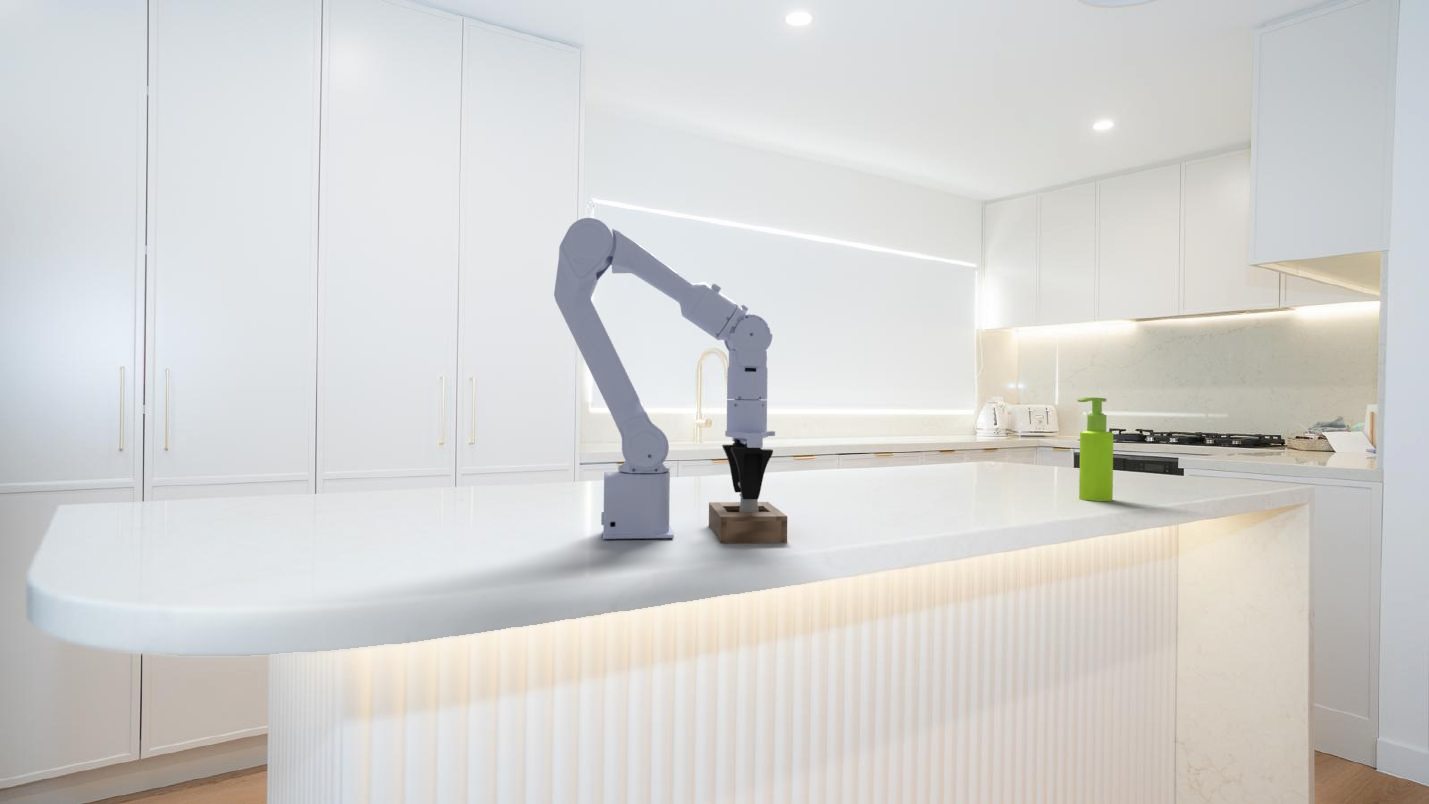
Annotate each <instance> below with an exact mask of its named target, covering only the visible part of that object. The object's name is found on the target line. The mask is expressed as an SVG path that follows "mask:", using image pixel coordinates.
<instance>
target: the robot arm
mask: <svg viewBox="0 0 1429 804" xmlns="http://www.w3.org/2000/svg"><path fill="white" fill-rule="evenodd" d="M558 249H559V251H558V263H557V267H556V268H557V270H556V278H555V282H554V283H555V285H554V292H553V293H554V294H553V296H554V299H555V303H556V305H557V307H558V309H559V310H560V313H561V315H562V317H563V319H564V321H565V323H566V325H567V328H568V329H569V331H570V333H571V336H572V337H573V339H574V341H575V343H576V345H577V346H578V349H579V352H580V353H581V355H582V358H583V359H584V362H585V363H586V365H587V367H588V370H589V371H590V374H591V376H592V378H593V379H594V382H595V384H596V386H597V388H598V389H599V392H600V394H601V396H602V399H603V400H604V401H605V405H606V407H607V408H608V411H609V413H610V415H611V416H612V419H613V421H614V423H615V425H616V428H617V430H618V432H619V434H620V437H621V452H622V455H623V458H624V462H623V463H622V464H620V465H618V471H606V472H604V475H603V479H604V480H603V511H602V512H601V516H600V517H601V519H600V521H601V526H603V532H602V533H603V537H602V538H603V539H604V540H608V539H609V540H613V539H614V540H617V539H618V540H620V539H621V540H622V539H623V540H624V539H625V540H626V539H627V540H628V539H673V538H674V536H675V534H674V532H673V529H672V527H671V525H670V500H671V499H670V492H671V491H670V484H671V482H670V478H671V477H670V476H671V472H670V471H671V470H670V469H671V468H670V467H669V466H667V465H665V464H664V462H665V461H666V459H667V456H668V454H669V450H670V449H669V448H670V447H669V446H670V445H669V441H668V438H667V435H665V432H663V431H662V429H661V428H659V427H658V426H657V425H656V424H654V423H653V422H652V420H651V419H650V417H649V416H648V413H647V411H646V409H645V407H644V406H643V403H642V401H641V399H640V397H639V395H638V393H637V391H636V390H635V386H634V385H633V383H632V381H631V379H630V377H629V374H628V373H627V371H626V369H625V367H624V364H623V362H622V360H621V358H620V357H619V354H618V353H617V352H618V351H616V348H615V346H614V344H613V342H612V340H611V337H610V336H609V334H608V332H607V330H606V328H605V326H604V323H603V321H602V320H601V317H600V315H599V314H598V311H597V310H596V307H595V305H594V304H593V301H592V296H593V294H594V292H595V289H596V286H597V284H598V281H599V280H600V278H602V276H603V275H604V274H605V273H606V272H607V270H609V268H610V266H611V273H612V274H632V275H634V276H636V277H637V278H640V279H641V280H642V281H644V282H645V283H647V284H648V285H650V286H652V287H653V288H655V289H657V290H658V291H660V292H661V293H663V294H664V295H666V296H667V297H669V298H670V299H672V300H674V301H676V302H678V304H679V307H680V311H681V316H682V317H684V318H685V319H686V320H688V321H689V322H691V323H693V324H694V325H695V326H696V327H698V328H699V329H701V330H702V331H704V332H705V333H707V334H708V335H710V336H711V337H713V338H714V339H716V340H717V341H722V340H723V341H724V343H723V344H724V346H725V348H726V349H727V351H728V366H727V368H726V369H727V372H726V374H727V375H726V380H727V381H726V430H725V435H724V436H725V438H732V439H731V441H732V442H733V443H732V444H722V445H721V446H722V449H723V451H724V453H725V455H726V459H727V462H728V464H729V470H730V473H731V474H730V475H731V480H732V481H731V482H732V486H733V491H734V492H735V493H742V497H743V499H758V500H759V497H760V494H761V490H762V484H763V480H764V474H765V472H766V468H767V466H768V463H769V461H770V460H771V457H772V456H773V453H774V450H773V449H772V448H770V449H769V448H767V449H764V447H763V444H764V443H763V442H764V441H763V439H765V438H768V437H775V436H776V431H774V430H768V427H767V426H768V367H767V364H768V363H767V361H768V356H767V349H769V347H770V346H771V343H772V340H773V334H772V333H771V330H770V327H769V326H768V325H769V324H768V322H767V321H766V320H764V318H762V317H761V316H759V315H757V314H747V311H749V307H748V306H746V305H745V304H742V305H738V304H737V303H736V302H734V301H733V300H732V299H730V298H729V297H727V296H726V295H724V294H722V292H721V290H722V288H721V286H719V285H718V284H716V283H712V285H710V284H708V283H707V282H698V283H691V282H689V281H688V280H687V279H685V278H684V277H682V275H680V274H679V273H678V272H676V271H675V270H673V269H672V268H671V267H670V266H668V265H667V264H665V263H664V262H663V261H661V260H660V259H659V258H658V257H656V256H655V255H653V254H652V253H651V252H649V251H648V250H647V249H645V248H644V247H642V246H641V245H640V244H639V243H637V242H635V241H634V240H632V239H631V238H630V237H628V236H627V235H625V234H624V233H622V232H621V231H619V230H617V229H614V228H612V231H611V230H610V228H609V227H608V225H606V223H605V222H603V221H602V220H599V219H597V218H594V217H584V218H579V219H578V220H576V221H575V222H573V223H572V224H571V225H570V226H569V228H568V229H567V231H566V233H565V234H564V237H563V239H562V240H561V242H560V245H559V248H558ZM762 448H763V449H762ZM739 482H740V487H739V485H738V483H739Z"/></svg>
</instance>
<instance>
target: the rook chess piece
mask: <svg viewBox="0 0 1429 804" xmlns="http://www.w3.org/2000/svg"><path fill="white" fill-rule="evenodd" d="M738 485H739V487H740V482H739V483H738ZM739 496H740V501H739V502H740V509H739V512H759V510H758V502H759V501H758V500H759V498H758V499H743V497H742V493H741V492H739Z"/></svg>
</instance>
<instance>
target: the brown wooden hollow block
mask: <svg viewBox="0 0 1429 804" xmlns="http://www.w3.org/2000/svg"><path fill="white" fill-rule="evenodd" d="M740 502H741V501H729V502H728V501H726V502H725V501H724V502H723V501H721V502H717V501H716V502H715V501H711V502H708V527H709V528H710V530H711V531H712V533H713V534H714V536H715V537H716V538H717V540H718V542H719V543H720V544H747V543H749V544H759V543H760V544H761V543H762V544H763V543H765V544H767V543H770V544H771V543H772V544H773V543H788V516H787V515H786V514H785V513H784V512H782V511H781V510H780V509H778V508H777V507H776V506H775V505H773V504H772V503H770V502H769V501H758V510H759V512H739V509H740Z"/></svg>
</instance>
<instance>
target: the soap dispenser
mask: <svg viewBox="0 0 1429 804" xmlns="http://www.w3.org/2000/svg"><path fill="white" fill-rule="evenodd" d="M1077 402H1079V403H1087V402H1091V404H1092V405H1091V412H1090V413H1089V414H1087V416H1086V417H1087V419H1086V420H1087V421H1086V422H1087V423H1086V430H1084V431H1081V432H1080V433H1079V474H1078V475H1079V477H1078V478H1079V484H1078V485H1079V486H1078V489H1079V491H1078V492H1079V493H1078V499H1080V500H1084V501H1091V502H1092V501H1093V502H1111V501H1113V498H1114V497H1113V493H1114V492H1113V491H1114V489H1113V487H1114V486H1113V485H1114V483H1113V481H1114V432H1111V431H1107V414H1104V412H1103V410H1102V408H1103V402H1104V403H1105V402H1107V398H1104V397H1082V398H1078V399H1077Z"/></svg>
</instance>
